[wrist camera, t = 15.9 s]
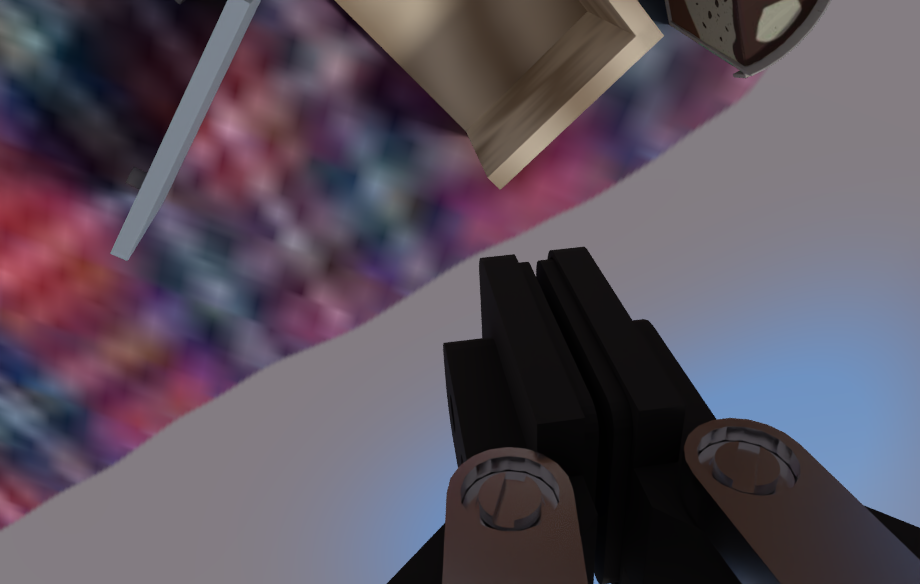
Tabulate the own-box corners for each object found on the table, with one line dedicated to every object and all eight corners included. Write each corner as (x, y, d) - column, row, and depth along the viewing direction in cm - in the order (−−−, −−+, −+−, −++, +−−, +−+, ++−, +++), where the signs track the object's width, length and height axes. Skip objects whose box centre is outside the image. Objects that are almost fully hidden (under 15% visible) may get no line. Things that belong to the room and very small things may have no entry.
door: (133, 187, 43) (89, 246, 36) (250, -66, 37) (225, -57, 30) (167, 203, 44) (131, 264, 37) (287, -43, 38) (271, -28, 31)
